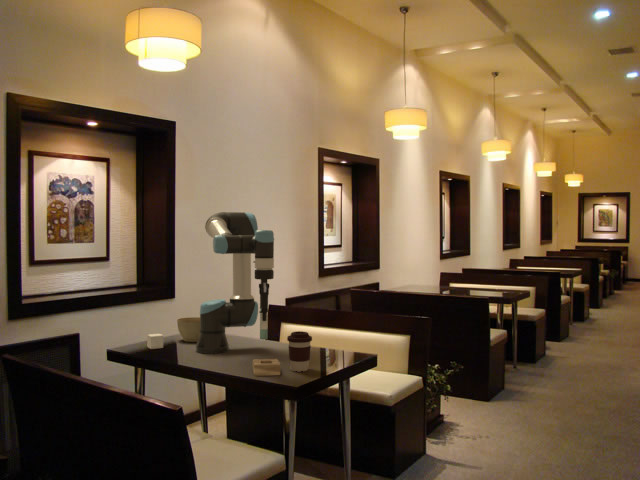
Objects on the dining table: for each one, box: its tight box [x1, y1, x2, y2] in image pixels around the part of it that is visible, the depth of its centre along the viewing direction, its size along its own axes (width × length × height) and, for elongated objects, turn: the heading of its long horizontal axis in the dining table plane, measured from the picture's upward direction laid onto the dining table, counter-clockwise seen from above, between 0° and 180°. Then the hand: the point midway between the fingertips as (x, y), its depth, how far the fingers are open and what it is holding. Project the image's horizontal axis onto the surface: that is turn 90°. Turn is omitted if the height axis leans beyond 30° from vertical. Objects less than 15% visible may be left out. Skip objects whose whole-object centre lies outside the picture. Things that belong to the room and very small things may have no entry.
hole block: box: [252, 358, 281, 377], centre depth 222 cm, size 10×10×4 cm
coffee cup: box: [286, 331, 313, 373], centre depth 226 cm, size 10×10×15 cm
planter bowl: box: [176, 316, 200, 343], centre depth 285 cm, size 16×16×11 cm
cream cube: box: [146, 333, 164, 350], centre depth 267 cm, size 6×6×6 cm
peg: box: [259, 307, 269, 341], centre depth 222 cm, size 3×3×12 cm
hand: (263, 328), depth 222 cm, fingers closed on peg, 2 cm apart
